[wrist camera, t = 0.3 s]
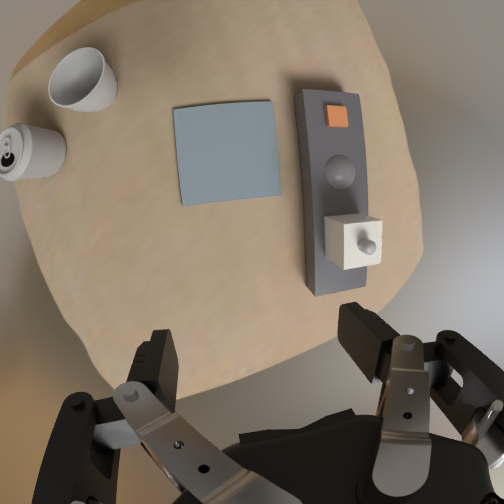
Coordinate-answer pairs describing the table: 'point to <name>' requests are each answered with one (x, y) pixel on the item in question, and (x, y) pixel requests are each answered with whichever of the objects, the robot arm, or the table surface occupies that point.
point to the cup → (83, 81)
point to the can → (30, 152)
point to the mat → (226, 152)
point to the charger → (353, 240)
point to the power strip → (330, 179)
